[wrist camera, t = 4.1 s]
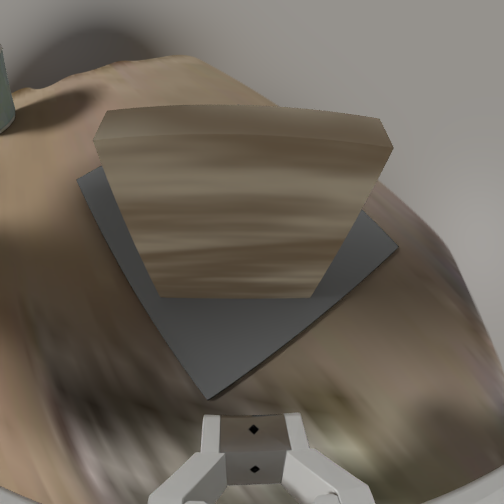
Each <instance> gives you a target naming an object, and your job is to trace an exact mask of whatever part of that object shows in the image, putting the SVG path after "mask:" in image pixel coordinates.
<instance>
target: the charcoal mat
mask: <svg viewBox="0 0 504 504" xmlns="http://www.w3.org/2000/svg"><path fill="white" fill-rule="evenodd" d="M77 182H78V185H79V187H80V189H81V191H82V193H83V195H84V198H85V200H86V202H87V204H88V206H89V208H90V210H91V212H92V214H93V216H94V218H95V220H96V222H97V224H98V226H99V228H100V230H101V232H102V234H103V236H104V238H105V240H106V242H107V244H108V245H109V247H110V249H111V251H112V253H113V255H114V257H115V258H116V260H117V262H118V264H119V266H120V267H121V269H122V271H123V273H124V274H125V276H126V278H127V280H128V281H129V283H130V285H131V287H132V288H133V290H134V292H135V293H136V295H137V297H138V298H139V300H140V302H141V303H142V305H143V307H144V308H145V310H146V311H147V313H148V315H149V316H150V318H151V319H152V321H153V323H154V324H155V326H156V327H157V329H158V330H159V332H160V333H161V335H162V337H163V338H164V340H165V341H166V343H167V344H168V346H169V347H170V349H171V350H172V352H173V353H174V354H175V356H176V357H177V359H178V360H179V362H180V363H181V365H182V366H183V367H184V369H185V370H186V372H187V373H188V375H189V376H190V377H191V379H192V380H193V381H194V383H195V384H196V386H197V387H198V388H199V390H200V391H201V392H202V394H203V395H204V396H205V398H206V399H207V400H209V399H210V398H212V397H213V396H215V395H216V394H218V393H219V392H221V391H222V390H224V389H225V388H226V387H228V386H229V385H231V384H232V383H234V382H235V381H236V380H238V379H239V378H241V377H242V376H243V375H245V374H246V373H248V372H249V371H250V370H252V369H253V368H254V367H256V366H257V365H259V364H260V363H261V362H263V361H264V360H265V359H267V358H268V357H269V356H271V355H272V354H273V353H275V352H276V351H277V350H278V349H280V348H281V347H282V346H284V345H285V344H286V343H288V342H289V341H290V340H291V339H293V338H294V337H295V336H296V335H298V334H299V333H300V332H302V331H303V330H304V329H305V328H307V327H308V326H309V325H310V324H312V323H313V322H314V321H315V320H316V319H318V318H319V317H320V316H321V315H323V314H324V313H325V312H326V311H327V310H329V309H330V308H331V307H332V306H333V305H334V304H336V303H337V302H338V301H339V300H340V299H342V298H343V297H344V296H345V295H346V294H347V293H349V292H350V291H351V290H352V289H353V288H354V287H355V286H357V285H358V284H359V283H360V282H361V281H362V280H363V279H364V278H366V277H367V276H368V275H369V274H370V273H371V272H372V271H373V270H375V269H376V268H377V267H378V266H379V265H380V264H381V263H382V262H383V261H384V260H385V259H386V258H388V257H389V256H390V255H391V254H392V253H393V252H394V251H395V250H396V249H397V248H398V247H399V246H398V245H397V244H396V243H395V242H394V241H393V240H392V239H391V238H390V237H389V236H388V235H387V234H386V233H385V232H384V231H383V230H382V229H381V228H380V227H379V226H378V225H377V224H376V223H375V222H374V221H373V220H372V219H371V218H370V217H369V216H368V215H367V214H366V213H365V212H364V211H363V210H361V211H360V213H359V215H358V217H357V219H356V221H355V222H354V224H353V226H352V228H351V229H350V231H349V233H348V235H347V237H346V238H345V240H344V242H343V244H342V245H341V247H340V249H339V250H338V252H337V254H336V256H335V257H334V259H333V261H332V262H331V264H330V266H329V267H328V269H327V271H326V273H325V274H324V276H323V278H322V279H321V281H320V282H319V284H318V286H317V287H316V289H315V291H314V292H313V294H312V296H311V297H310V298H264V299H224V298H165V297H160V296H159V294H158V292H157V290H156V288H155V286H154V284H153V282H152V280H151V278H150V276H149V274H148V272H147V269H146V267H145V265H144V263H143V261H142V259H141V257H140V255H139V252H138V250H137V248H136V246H135V244H134V241H133V239H132V237H131V235H130V232H129V230H128V228H127V226H126V223H125V221H124V219H123V216H122V214H121V212H120V209H119V207H118V204H117V202H116V200H115V197H114V195H113V192H112V190H111V187H110V185H109V182H108V180H107V177H106V174H105V172H104V169H103V167H102V166H100V167H98V168H96V169H95V170H93V171H91V172H89V173H87V174H86V175H84V176H82V177H80V178H79V179H77Z"/></svg>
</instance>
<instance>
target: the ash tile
mask: <svg viewBox="0 0 504 504" xmlns="http://www.w3.org/2000/svg"><path fill="white" fill-rule="evenodd" d="M93 142H94V145H95V148H96V150H97V153H98V156H99V159H100V161H101V164H102V167H103V169H104V172H105V174H106V177H107V180H108V182H109V185H110V187H111V190H112V192H113V195H114V197H115V200H116V202H117V204H118V207H119V209H120V212H121V214H122V216H123V219H124V221H125V223H126V226H127V228H128V230H129V232H130V235H131V237H132V239H133V241H134V244H135V246H136V248H137V250H138V252H139V255H140V257H141V259H142V261H143V263H144V265H145V267H146V269H147V272H148V274H149V276H150V278H151V280H152V282H153V284H154V286H155V288H156V290H157V292H158V294H159V296H160V297H165V298H224V299H264V298H310V297H311V296H312V294H313V292H314V291H315V289H316V287H317V286H318V284H319V282H320V281H321V279H322V278H323V276H324V274H325V273H326V271H327V269H328V267H329V266H330V264H331V262H332V261H333V259H334V257H335V256H336V254H337V252H338V250H339V249H340V247H341V245H342V244H343V242H344V240H345V238H346V237H347V235H348V233H349V231H350V229H351V228H352V226H353V224H354V222H355V221H356V219H357V217H358V215H359V213H360V211H361V210H362V208H363V206H364V204H365V202H366V200H367V199H368V197H369V195H370V193H371V191H372V189H373V187H374V185H375V184H376V182H377V180H378V178H379V176H380V174H381V172H382V170H383V168H384V166H385V164H386V162H387V160H388V158H389V156H390V154H391V152H392V150H393V146H392V143H391V141H390V139H389V137H388V135H387V133H386V131H385V129H384V127H383V125H382V123H381V121H380V119H377V118H372V117H366V116H359V115H352V114H345V113H338V112H330V111H320V110H310V109H301V108H300V109H299V108H288V107H274V106H254V105H176V106H156V107H142V108H130V109H119V110H110V111H107V112H106V114H105V116H104V118H103V120H102V122H101V124H100V126H99V128H98V130H97V132H96V135H95V137H94V139H93Z"/></svg>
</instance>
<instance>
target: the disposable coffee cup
mask: <svg viewBox="0 0 504 504" xmlns="http://www.w3.org/2000/svg"><path fill="white" fill-rule="evenodd" d="M2 49H3V48H2V46H1V44H0V133H2V132H3V131H4V130H5V129H7V128H8V127H9V126H10V125H11V123H12V122H13V121H14V119H15V107H14V103H13V99H12V95H11V91H10V87H9V82H8V78H7V73H6V68H5V63H4V58H3V52H2Z"/></svg>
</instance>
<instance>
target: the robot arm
mask: <svg viewBox="0 0 504 504" xmlns="http://www.w3.org/2000/svg"><path fill="white" fill-rule="evenodd" d="M279 483H281V485H282V486H283V487H284V488H285V489H286V490H287V491H288V492H289V493H290V494H291V495H292V496H293V497H294V498H295V499H296V500H297V501H298V502H299V503H300V504H375V501H374V499H373V496H372V494H371V491H370V489H369V486H368V485H367V484H365V483H364V482H362V481H361V480H359V479H358V478H356V477H355V476H353V475H352V474H350V473H349V472H347V471H346V470H344V469H343V468H342V467H340V466H339V465H337V464H336V463H335V462H333V461H332V460H330V459H329V458H328V457H326V456H325V455H324V454H322V453H321V452H319V451H318V450H317V449H315V448H311V449H310V446H309V442H308V439H307V435H306V431H305V428H304V424H303V421H302V417H301V414H300V413H299V412H298V413H285V414H270V415H221V416H220V415H204V417H203V427H202V439H201V452H195V453H194V454H193V455H192V456H191V457H190V458H189V459H188V460H187V461H186V462H185V463H184V464H183V465H182V466H181V467H180V468H179V469H178V470H177V471H176V472H175V473H174V474H172V475H171V476H170V477H169V478H168V479H167V480H166V481H165V482H164V483H163V484H162V485H161V486H159V487H158V488H157V489H156V490H155V491H154V492H153V493H152V494H150V495H149V500H148V504H215V502H216V501H217V500H218V498H219V497H220V496H221V494H222V493H223V492H224V490H225V489H226V487H227V485H252V484H279ZM0 504H42V503H39V502H37V501H34V500H32V499H29V498H27V497H24V496H22V495H19V494H17V493H15V492H13V491H10V490H8V489H6V488H4V487H2V486H0ZM421 504H504V465H502V466H500V467H499V468H497V469H495V470H493V471H492V472H490V473H488V474H486V475H484V476H482V477H480V478H478V479H476V480H474V481H472V482H470V483H468V484H466V485H464V486H462V487H460V488H458V489H455V490H453V491H451V492H449V493H446V494H444V495H441V496H439V497H437V498H434V499H432V500H429V501H426V502H424V503H421Z"/></svg>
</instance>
